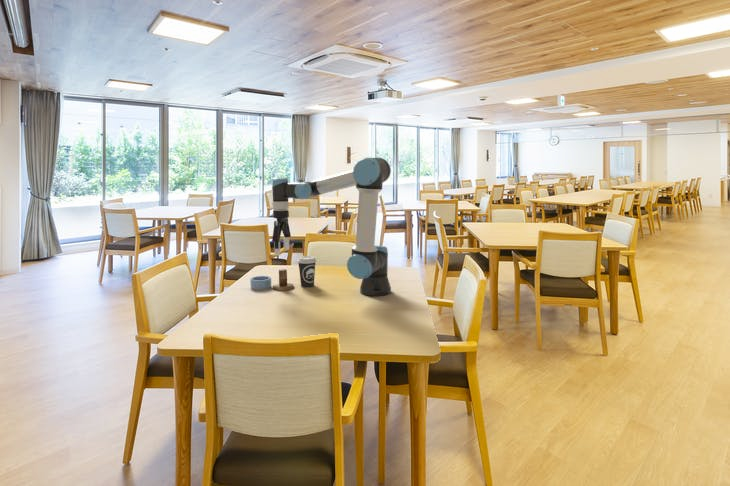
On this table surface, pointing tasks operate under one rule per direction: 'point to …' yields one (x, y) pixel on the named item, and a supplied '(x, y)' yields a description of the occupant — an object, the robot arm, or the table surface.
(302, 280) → the coffee cup
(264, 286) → the bowl
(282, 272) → the lid
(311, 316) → the table surface
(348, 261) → the robot arm
